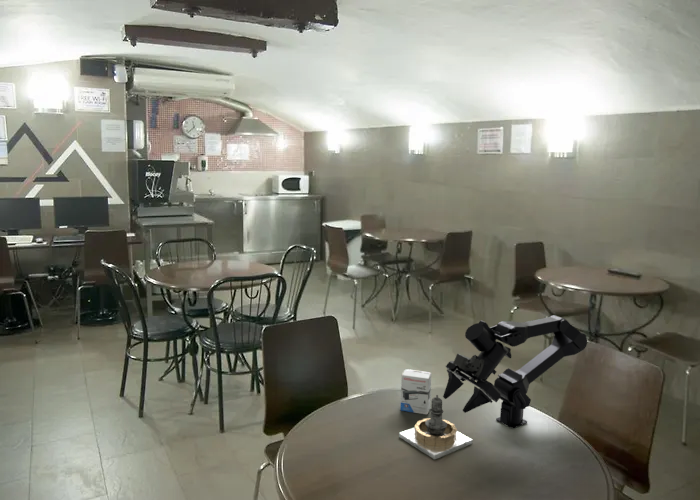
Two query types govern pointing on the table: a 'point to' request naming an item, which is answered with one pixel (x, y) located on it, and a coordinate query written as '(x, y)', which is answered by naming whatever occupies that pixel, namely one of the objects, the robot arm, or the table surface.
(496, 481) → the table surface
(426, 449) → the socket plate
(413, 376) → the ink box
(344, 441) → the table surface
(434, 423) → the grey stone tall piece
